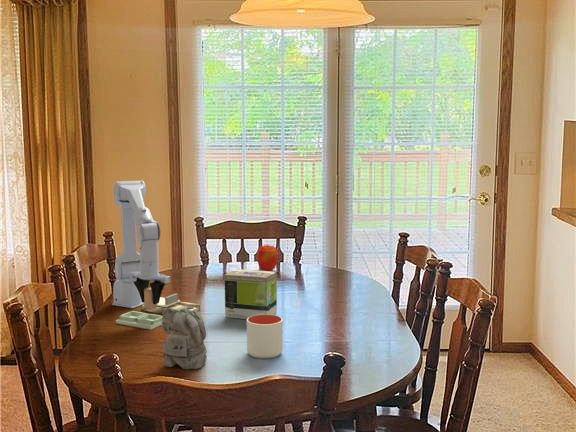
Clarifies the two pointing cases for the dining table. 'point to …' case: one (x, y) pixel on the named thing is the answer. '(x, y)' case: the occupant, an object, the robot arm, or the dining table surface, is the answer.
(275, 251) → the apple
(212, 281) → the dining table surface
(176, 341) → the figurine
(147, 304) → the peg
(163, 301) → the lid
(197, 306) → the plate
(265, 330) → the cup
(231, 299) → the tea box
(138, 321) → the socket board
